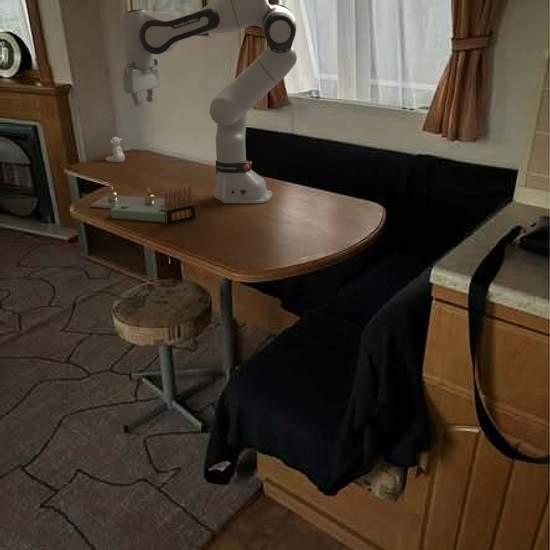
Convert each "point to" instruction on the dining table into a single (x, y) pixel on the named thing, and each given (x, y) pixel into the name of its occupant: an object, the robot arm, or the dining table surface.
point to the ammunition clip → (179, 206)
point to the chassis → (128, 200)
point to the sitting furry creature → (116, 151)
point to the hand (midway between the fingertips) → (144, 103)
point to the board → (138, 213)
